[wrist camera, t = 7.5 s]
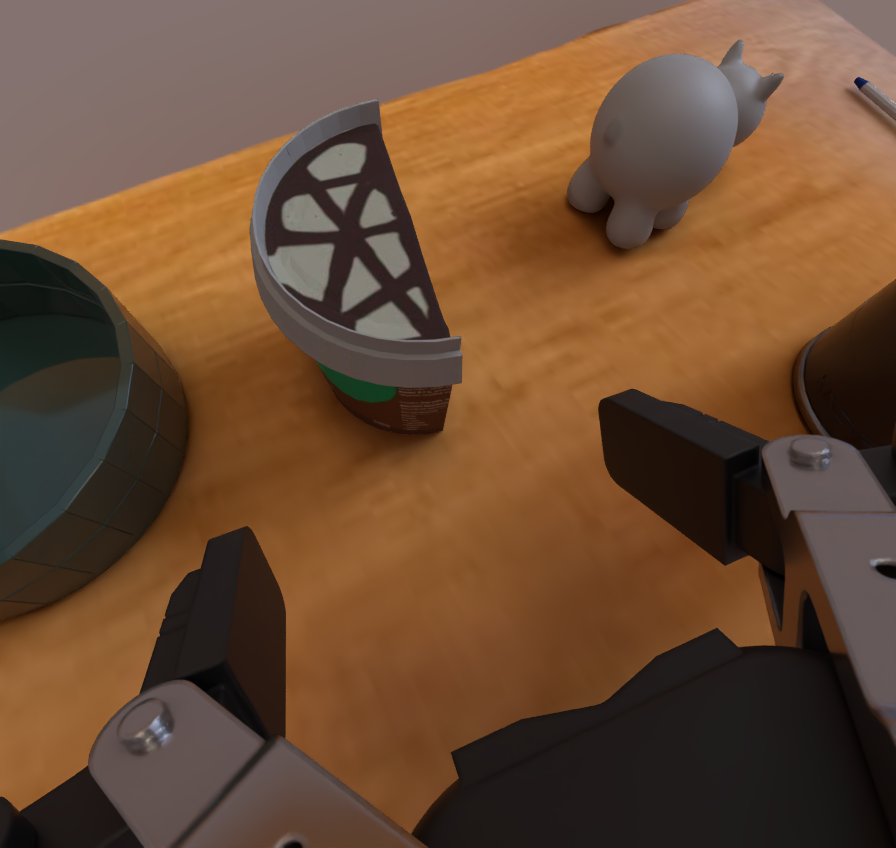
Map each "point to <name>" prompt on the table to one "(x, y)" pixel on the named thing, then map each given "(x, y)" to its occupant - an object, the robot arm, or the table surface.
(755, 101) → the round bodied animal figurine
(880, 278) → the table surface
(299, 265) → the food container
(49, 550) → the bowl
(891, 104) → the ballpoint pen
